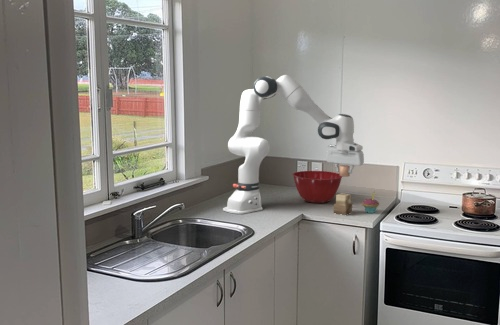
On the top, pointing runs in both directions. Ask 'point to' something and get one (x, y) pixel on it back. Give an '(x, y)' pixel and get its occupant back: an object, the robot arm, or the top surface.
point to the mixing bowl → (317, 185)
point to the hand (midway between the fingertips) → (344, 172)
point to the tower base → (342, 209)
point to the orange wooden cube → (344, 170)
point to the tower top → (343, 199)
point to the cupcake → (370, 204)
